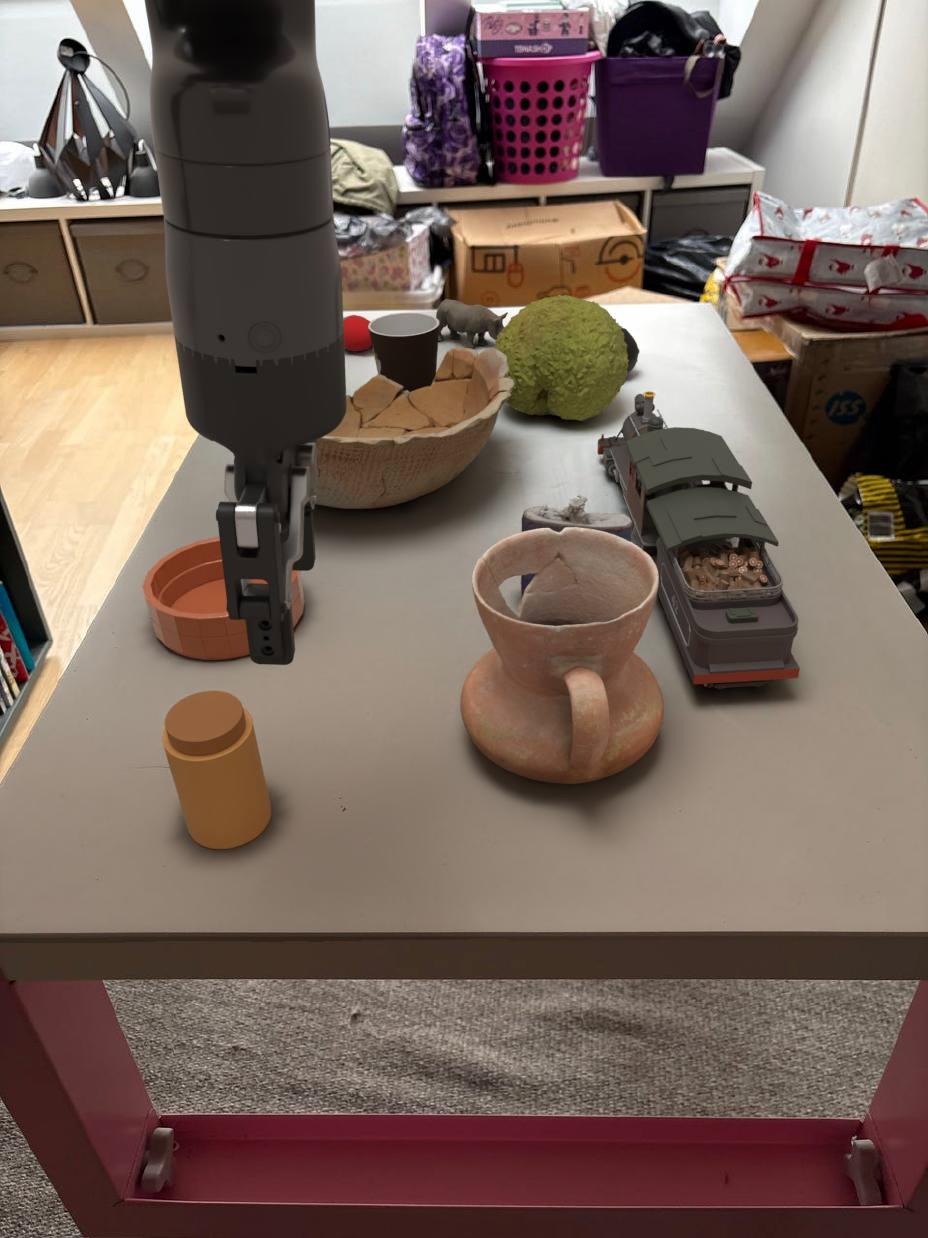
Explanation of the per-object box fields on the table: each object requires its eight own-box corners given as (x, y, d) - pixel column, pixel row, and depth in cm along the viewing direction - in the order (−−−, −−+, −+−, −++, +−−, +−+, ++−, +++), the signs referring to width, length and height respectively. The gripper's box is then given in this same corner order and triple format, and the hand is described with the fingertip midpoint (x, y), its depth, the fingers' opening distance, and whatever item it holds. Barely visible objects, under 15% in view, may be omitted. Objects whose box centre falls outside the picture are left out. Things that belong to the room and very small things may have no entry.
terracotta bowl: (141, 667, 79) (128, 623, 76) (169, 581, 90) (159, 539, 87) (299, 656, 80) (292, 612, 77) (309, 572, 90) (302, 530, 88)
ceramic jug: (456, 668, 78) (448, 513, 69) (635, 657, 78) (648, 502, 70) (469, 839, 63) (461, 669, 55) (689, 825, 63) (714, 654, 55)
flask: (627, 601, 84) (635, 493, 78) (624, 621, 82) (632, 511, 76) (523, 592, 86) (522, 485, 80) (517, 611, 84) (516, 502, 78)
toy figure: (298, 348, 144) (351, 357, 133) (293, 314, 142) (347, 320, 131) (341, 340, 148) (396, 348, 137) (337, 307, 146) (392, 312, 135)
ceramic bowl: (312, 401, 118) (315, 282, 109) (522, 460, 114) (545, 341, 105) (184, 527, 96) (174, 390, 86) (439, 605, 92) (458, 471, 82)
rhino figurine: (508, 358, 133) (507, 315, 130) (429, 341, 140) (426, 300, 136) (524, 349, 136) (524, 307, 132) (445, 333, 143) (444, 292, 139)
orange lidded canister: (181, 852, 63) (149, 749, 57) (194, 790, 67) (166, 689, 62) (267, 846, 63) (243, 742, 58) (275, 784, 68) (253, 683, 62)
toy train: (587, 449, 109) (591, 354, 103) (665, 445, 109) (674, 350, 103) (683, 709, 73) (699, 587, 66) (800, 701, 73) (827, 579, 66)
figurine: (592, 324, 120) (573, 297, 136) (578, 377, 123) (561, 345, 139) (649, 337, 121) (624, 308, 137) (634, 388, 124) (611, 355, 140)
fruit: (493, 442, 111) (461, 311, 109) (524, 436, 125) (497, 319, 122) (630, 407, 106) (600, 268, 103) (648, 405, 119) (621, 281, 117)
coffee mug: (435, 417, 118) (431, 337, 112) (367, 414, 119) (359, 335, 114) (453, 381, 127) (450, 305, 121) (390, 379, 129) (383, 304, 123)
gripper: (208, 268, 49) (241, 539, 58) (131, 382, 37) (187, 695, 47) (357, 274, 49) (364, 543, 59) (324, 389, 38) (340, 700, 47)
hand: (285, 611), depth 53 cm, fingers open, 8 cm apart
